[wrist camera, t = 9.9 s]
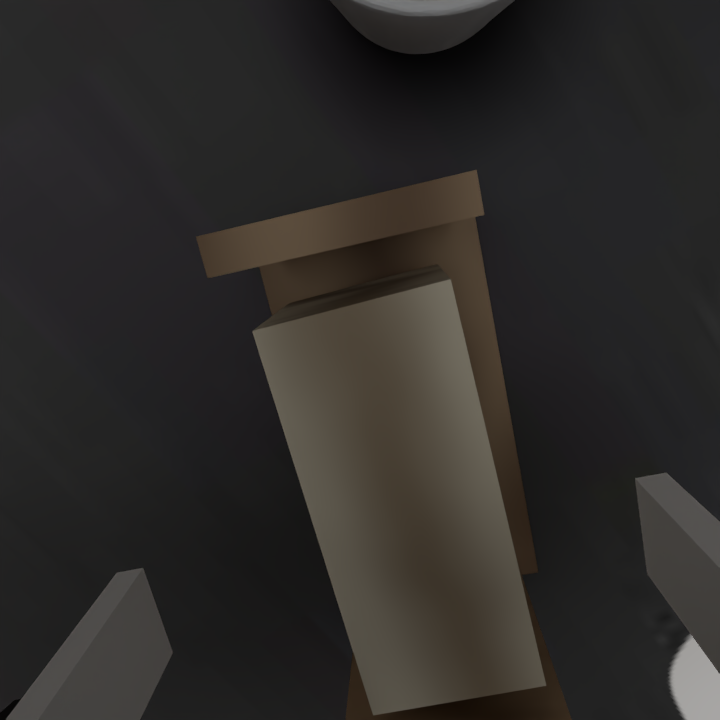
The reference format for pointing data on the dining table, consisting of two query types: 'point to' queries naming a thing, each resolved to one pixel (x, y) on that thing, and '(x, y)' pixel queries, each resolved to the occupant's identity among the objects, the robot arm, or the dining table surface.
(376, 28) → the mug
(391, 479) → the beige wooden block
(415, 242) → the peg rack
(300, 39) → the dining table surface
